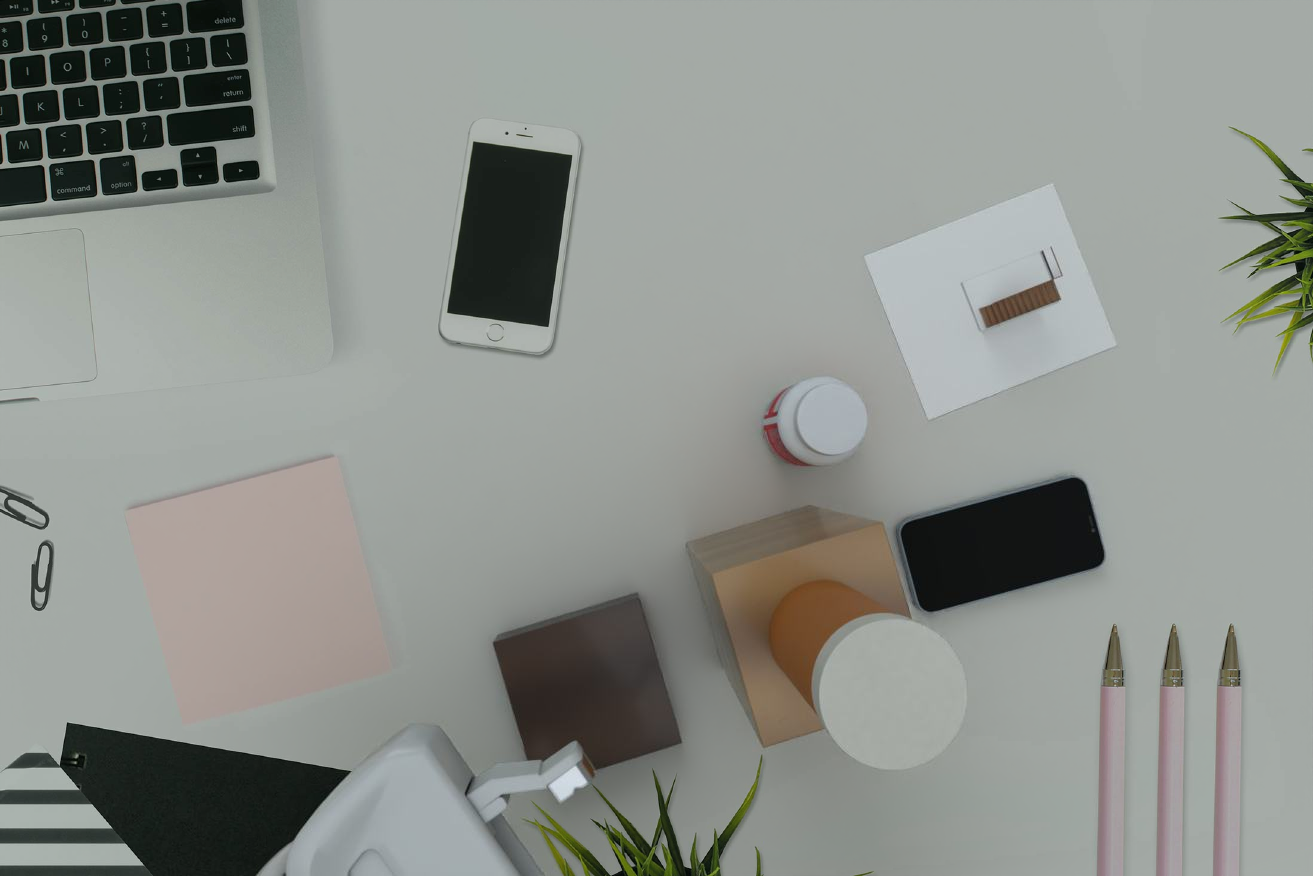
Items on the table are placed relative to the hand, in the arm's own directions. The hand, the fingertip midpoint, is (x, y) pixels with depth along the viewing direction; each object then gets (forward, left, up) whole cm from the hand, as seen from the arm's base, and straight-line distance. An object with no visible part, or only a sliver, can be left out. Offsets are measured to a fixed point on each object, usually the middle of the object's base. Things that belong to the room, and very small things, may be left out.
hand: (649, 849), depth 41 cm
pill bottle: (+15, -18, -32) cm, 39 cm away
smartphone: (+2, -30, -32) cm, 43 cm away
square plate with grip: (+20, -35, -32) cm, 51 cm away
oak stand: (+4, -12, -32) cm, 34 cm away
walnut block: (+1, +3, -32) cm, 32 cm away
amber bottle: (+4, -12, -12) cm, 17 cm away
